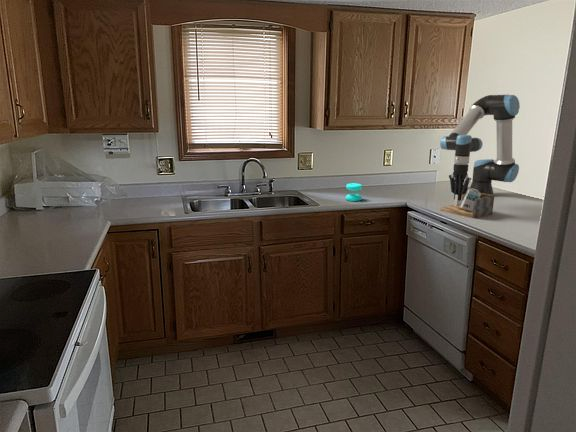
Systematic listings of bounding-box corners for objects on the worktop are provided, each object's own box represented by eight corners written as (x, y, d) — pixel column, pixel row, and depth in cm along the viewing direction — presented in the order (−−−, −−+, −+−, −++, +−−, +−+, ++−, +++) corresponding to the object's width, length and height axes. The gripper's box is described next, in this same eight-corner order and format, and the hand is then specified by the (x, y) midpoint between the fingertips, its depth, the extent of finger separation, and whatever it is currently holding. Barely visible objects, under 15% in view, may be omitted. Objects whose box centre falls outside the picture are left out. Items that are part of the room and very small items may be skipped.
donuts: (359, 182, 280) (364, 185, 271) (358, 198, 283) (363, 201, 273) (344, 183, 279) (348, 186, 269) (343, 198, 281) (348, 202, 272)
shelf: (457, 206, 258) (459, 189, 255) (492, 214, 241) (494, 195, 238) (440, 210, 249) (441, 192, 247) (474, 218, 232) (476, 198, 229)
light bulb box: (473, 212, 238) (481, 194, 235) (461, 208, 239) (469, 190, 236) (470, 207, 248) (478, 189, 245) (458, 203, 249) (466, 185, 246)
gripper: (446, 162, 244) (442, 204, 249) (467, 165, 233) (462, 209, 239) (455, 162, 248) (451, 203, 253) (476, 164, 237) (471, 207, 243)
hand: (456, 205), depth 246 cm, fingers closed
